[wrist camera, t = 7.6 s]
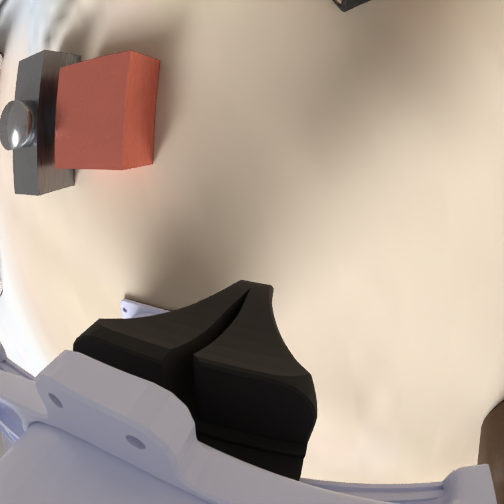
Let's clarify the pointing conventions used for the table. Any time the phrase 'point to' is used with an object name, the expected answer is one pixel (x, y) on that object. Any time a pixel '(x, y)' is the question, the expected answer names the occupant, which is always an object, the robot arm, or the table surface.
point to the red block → (106, 112)
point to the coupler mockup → (36, 124)
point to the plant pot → (494, 449)
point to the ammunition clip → (348, 4)
